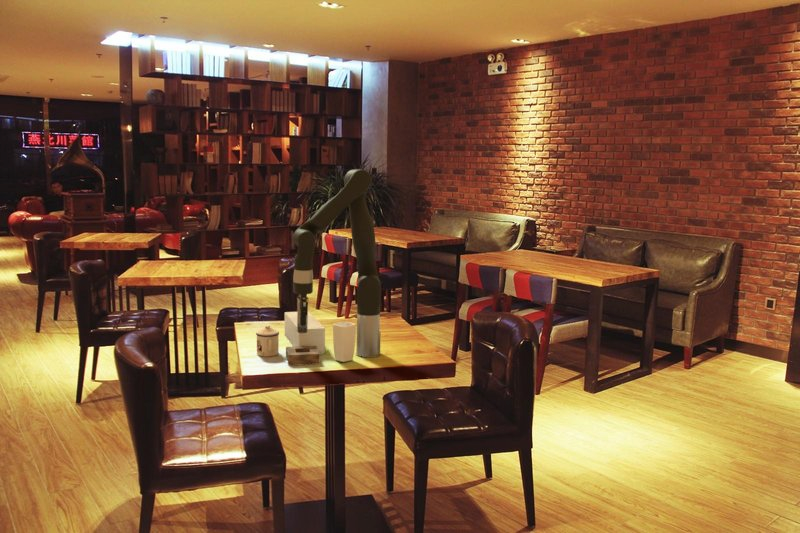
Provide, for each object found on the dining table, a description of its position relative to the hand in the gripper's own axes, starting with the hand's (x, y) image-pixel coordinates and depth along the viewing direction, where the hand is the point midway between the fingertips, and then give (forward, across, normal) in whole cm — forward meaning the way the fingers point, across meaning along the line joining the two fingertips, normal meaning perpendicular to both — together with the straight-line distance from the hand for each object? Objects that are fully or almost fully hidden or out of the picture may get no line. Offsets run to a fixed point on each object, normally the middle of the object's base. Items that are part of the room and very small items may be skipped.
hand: (302, 323), depth 274 cm
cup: (+15, -3, -16) cm, 22 cm away
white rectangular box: (+15, +24, -3) cm, 28 cm away
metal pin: (+3, 0, 0) cm, 3 cm away
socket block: (+15, 0, 0) cm, 15 cm away
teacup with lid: (+15, +10, +13) cm, 22 cm away
